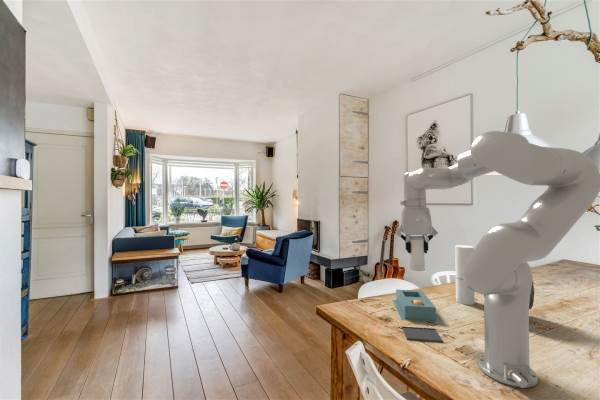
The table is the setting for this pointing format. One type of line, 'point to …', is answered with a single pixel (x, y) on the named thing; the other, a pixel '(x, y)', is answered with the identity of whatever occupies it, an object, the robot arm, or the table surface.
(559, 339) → the table surface
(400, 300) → the teal hollow block
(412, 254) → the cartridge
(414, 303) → the orange egg shape
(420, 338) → the mat
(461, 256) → the cylindrical container
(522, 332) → the robot arm
